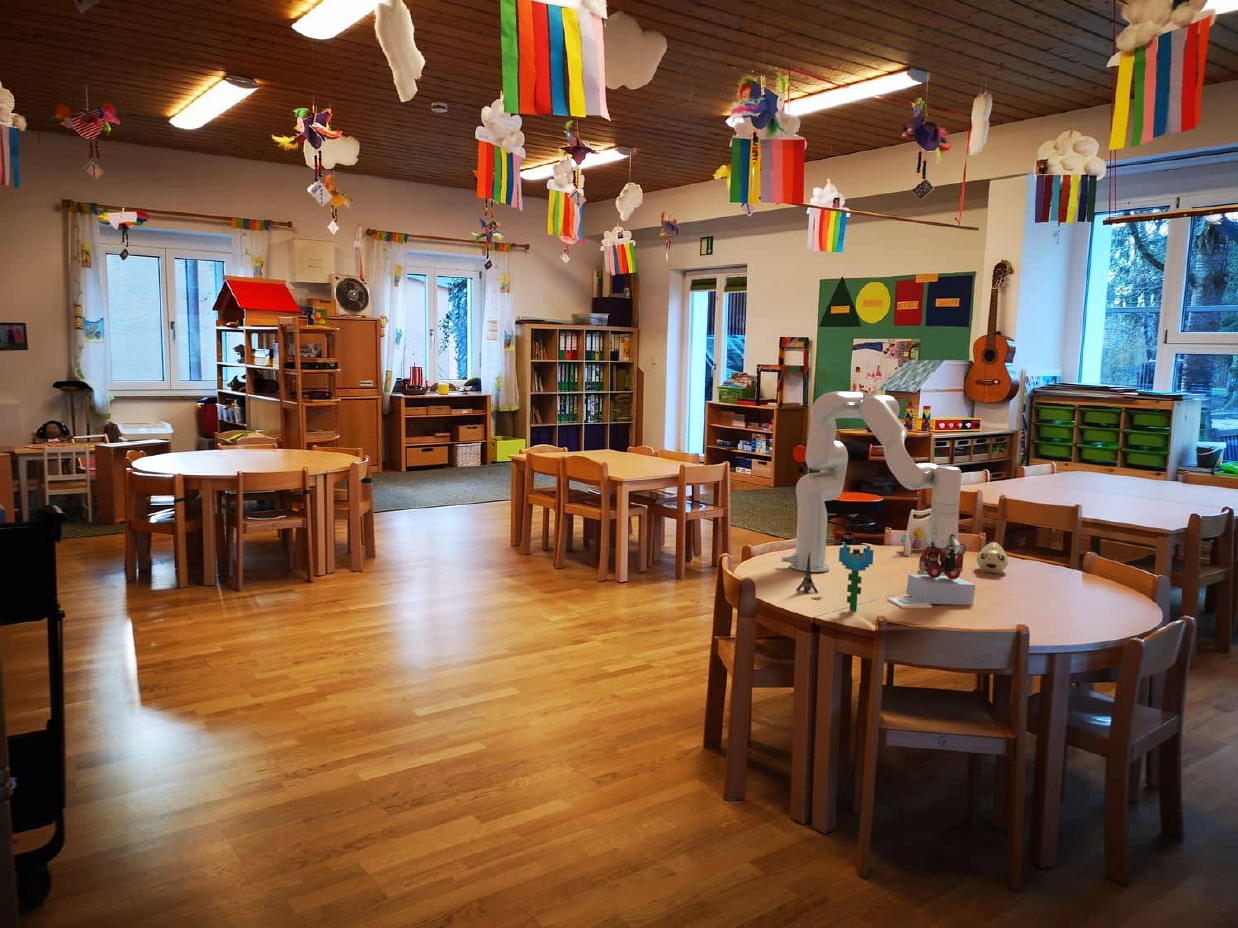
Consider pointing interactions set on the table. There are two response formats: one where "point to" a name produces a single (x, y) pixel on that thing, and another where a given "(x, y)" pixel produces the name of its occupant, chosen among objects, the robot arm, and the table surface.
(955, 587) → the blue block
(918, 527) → the shape sorter
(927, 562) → the toy fire truck
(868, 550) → the toy flower
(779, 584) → the table surface
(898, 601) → the tile
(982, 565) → the yellow animal figurine
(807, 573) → the eiffel tower figurine
